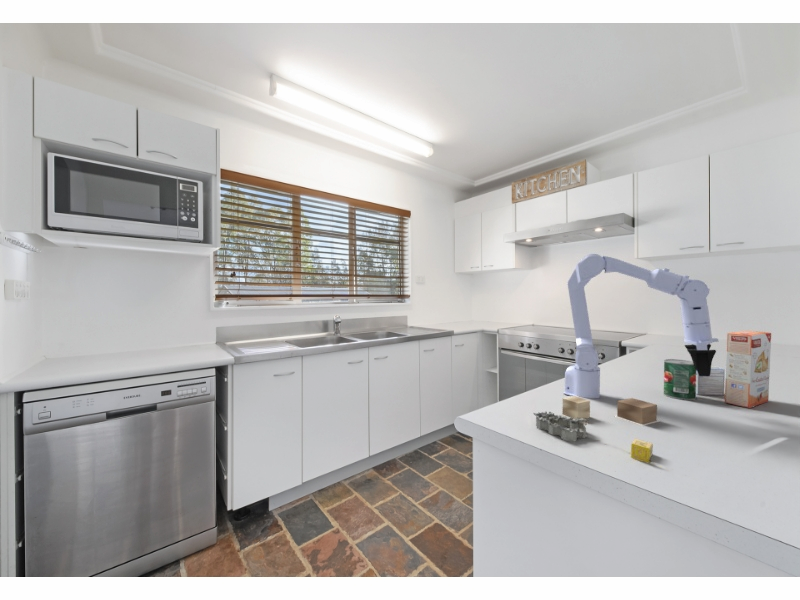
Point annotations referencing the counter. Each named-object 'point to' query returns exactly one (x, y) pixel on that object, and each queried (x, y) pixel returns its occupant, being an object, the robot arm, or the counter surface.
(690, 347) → the robot arm
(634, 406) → the walnut block
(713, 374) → the medicine box
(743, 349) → the cracker box
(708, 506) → the counter surface
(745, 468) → the counter surface
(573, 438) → the egg carton
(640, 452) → the alphabet block
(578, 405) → the oak block
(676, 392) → the canned tomato
